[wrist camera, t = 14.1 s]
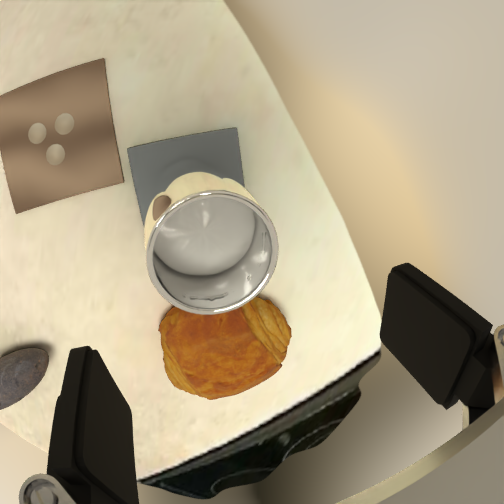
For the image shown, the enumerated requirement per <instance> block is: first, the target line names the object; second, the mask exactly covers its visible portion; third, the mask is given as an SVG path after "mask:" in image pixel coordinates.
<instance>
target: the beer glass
mask: <svg viewBox="0 0 504 504" xmlns="http://www.w3.org/2000/svg"><path fill="white" fill-rule="evenodd" d="M144 242H145V251H146V266H147V271H148V274H149V277H150V279H151V282H152V283H153V285H154V287H155V288H156V290H157V291H158V292H159V294H160V295H161V296H162V297H163V298H164V299H165V300H167V301H168V302H169V303H171V304H172V305H174V306H175V307H177V308H179V309H182V310H184V311H187V312H190V313H195V314H202V315H212V314H221V313H225V312H229V311H232V310H234V309H237V308H239V307H241V306H243V305H245V304H246V303H248V302H249V301H251V300H252V299H253V298H254V297H256V296H257V295H258V294H259V293H260V292H261V291H262V290H263V288H264V287H265V286H266V285H267V283H268V282H269V280H270V278H271V276H272V274H273V272H274V270H275V267H276V263H277V259H278V238H277V233H276V230H275V227H274V225H273V223H272V221H271V219H270V218H269V216H268V215H267V214H266V212H265V211H264V210H263V209H262V208H261V207H260V205H259V204H258V203H257V201H256V200H255V199H254V198H253V196H252V195H251V194H250V193H249V192H248V191H247V190H246V189H245V188H244V187H243V186H242V185H241V184H239V183H238V182H237V181H235V180H234V179H232V178H231V177H229V176H227V175H225V174H223V173H221V172H218V171H214V170H213V169H212V168H211V167H210V166H209V165H208V164H206V163H205V162H203V161H200V160H197V159H181V160H178V161H175V162H173V163H171V164H170V165H168V166H167V167H166V168H165V169H164V170H163V171H162V172H161V174H160V175H159V177H158V179H157V182H156V186H155V195H154V196H153V198H152V200H151V202H150V205H149V208H148V211H147V215H146V219H145V229H144Z"/></svg>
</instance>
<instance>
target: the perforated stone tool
mask: <svg viewBox="0 0 504 504" xmlns="http://www.w3.org/2000/svg"><path fill="white" fill-rule="evenodd" d="M48 362H49V356H48V354H47V352H45V351H44V350H42V349H37V348H26V349H21V350H18V351H15V352H12V353H10V354H8V355H6V356H3V357H1V358H0V410H1V409H4V408H6V407H9V406H10V405H13V404H14V403H16V402H18V401H20V400H21V399H22V398H24V397H25V396H26V395H28V394H29V393H30V392H31V391H32V390H33V389H34V388H35V387H36V386H37V385H38V384H39V382H40V381H41V380H42V378H43V377H44V376H45V372H46V370H47V367H48Z"/></svg>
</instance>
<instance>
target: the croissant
mask: <svg viewBox="0 0 504 504" xmlns="http://www.w3.org/2000/svg"><path fill="white" fill-rule="evenodd" d="M159 326H160V328H159V330H158V331H160V332H161V345H162V349H163V351H164V358H163V360H164V363H165V371H166V373H167V376H168V378H169V380H170V381H171V382H172V384H173V385H174V386H175V387H177V388H178V389H181V390H184V391H186V392H189V393H190V394H194V395H195V394H196V395H198V396H200V397H205V398H207V399H209V400H213V399H218V398H222V397H227V396H232V395H236V394H239V393H241V392H244V391H246V390H248V389H250V388H252V387H254V386H256V385H258V384H260V383H261V382H263V381H265V380H267V379H268V378H270V377H271V376H273V375H274V374H275V373H276V372H277V371H278V370H279V369H280V368H281V367H282V364H281V362H282V361H283V360H284V359H285V357H286V353H287V346H288V345H289V342H290V338H291V337H292V336H291V328H290V326H289V325H288V324H287V322H286V319H285V317H284V316H283V314H282V313H281V312H280V310H279V309H278V308H277V307H275V306H274V304H272V302H271V301H270V300H265V301H264V300H262V299H261V298H259V297H254V298H253V299H252V300H251V301H249V302H248V303H246V304H245V305H243V306H241V307H239V308H237V309H234V310H232V311H229V312H225V313H221V314H212V315H202V314H195V313H190V312H187V311H184V310H182V309H179V308H177V307H174V308H172V309H171V310H170V311H169V312H168V313H167V314H166V316H165V318H164V319H163V320H162V322H161V324H160V325H159Z"/></svg>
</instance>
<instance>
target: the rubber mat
mask: <svg viewBox="0 0 504 504" xmlns="http://www.w3.org/2000/svg"><path fill="white" fill-rule="evenodd" d="M127 151H128V157H129V162H130V167H131V172H132V177H133V181H134V186H135V191H136V195H137V200H138V204H139V208H140V213H141V217H142V221H143V225H144V229H145V219H146V215H147V211H148V208H149V205H150V202H151V200H152V198H153V196H154V195H155V186H156V182H157V179H158V177H159V175H160V174H161V172H162V171H163V170H164V169H165V168H166V167H167V166H168V165H170V164H171V163H173V162H175V161H178V160H181V159H197V160H200V161H203V162H205V163H206V164H208V165H209V166H210V167H211V168H212V169H213V170H214V171H218V172H221V173H223V174H225V175H227V176H229V177H231V178H232V179H234V180H235V181H237V182H238V183H239V184H241V185H242V186H243V187H244V188H245V186H244V179H243V171H242V163H241V155H240V147H239V139H238V132H237V128H228V129H222V130H215V131H209V132H203V133H197V134H192V135H186V136H181V137H176V138H171V139H166V140H161V141H157V142H152V143H147V144H143V145H139V146H134V147H130V148H128V149H127Z"/></svg>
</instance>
